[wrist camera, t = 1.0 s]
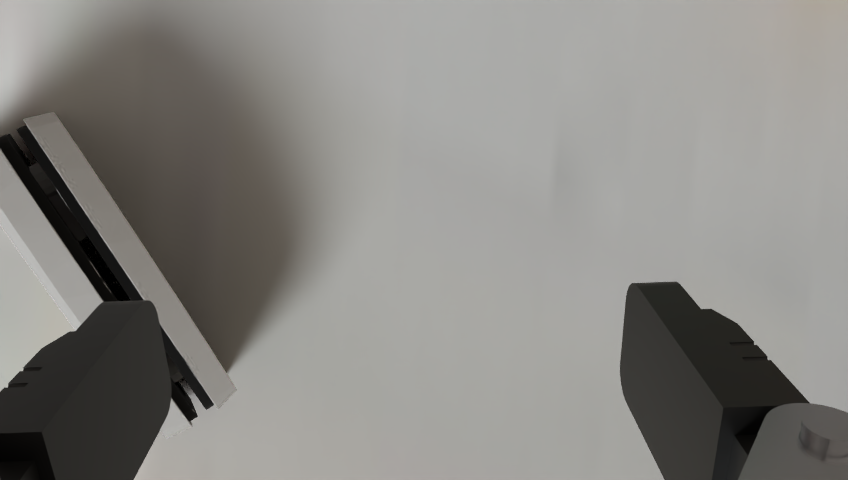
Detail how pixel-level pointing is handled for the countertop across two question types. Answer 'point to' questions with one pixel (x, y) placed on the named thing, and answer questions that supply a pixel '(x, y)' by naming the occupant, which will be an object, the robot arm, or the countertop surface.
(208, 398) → the white console
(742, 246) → the countertop surface
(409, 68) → the countertop surface
